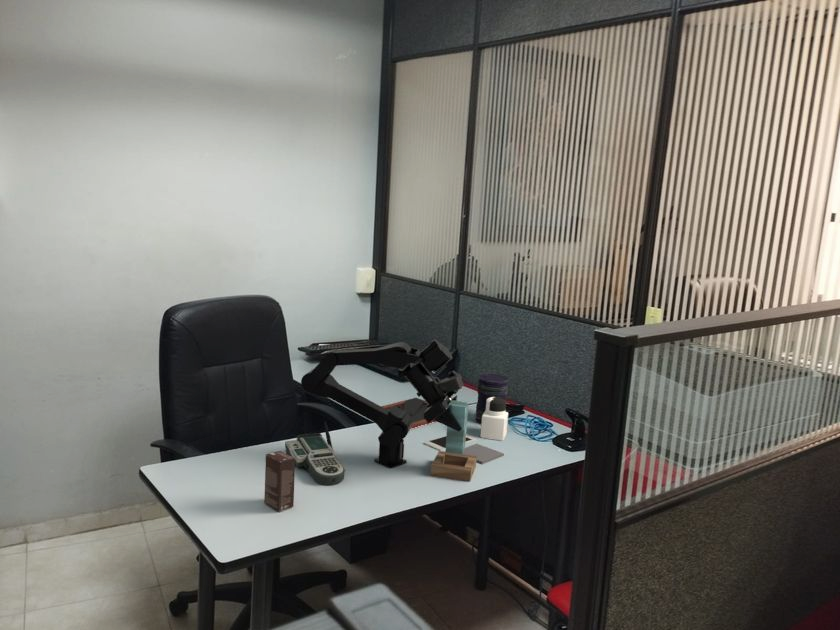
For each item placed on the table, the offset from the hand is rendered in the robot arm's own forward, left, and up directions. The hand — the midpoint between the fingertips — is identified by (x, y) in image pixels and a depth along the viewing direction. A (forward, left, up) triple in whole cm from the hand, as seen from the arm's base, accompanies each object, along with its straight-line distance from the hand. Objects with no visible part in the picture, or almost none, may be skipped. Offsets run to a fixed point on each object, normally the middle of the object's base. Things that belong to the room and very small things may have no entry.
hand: (462, 427), depth 180 cm
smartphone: (+15, +16, -13) cm, 26 cm away
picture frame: (+24, +41, -13) cm, 50 cm away
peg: (-1, +1, -7) cm, 7 cm away
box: (-48, +14, -13) cm, 51 cm away
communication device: (-28, +26, -13) cm, 40 cm away
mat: (+14, +4, -12) cm, 19 cm away
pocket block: (-1, +1, -12) cm, 13 cm away
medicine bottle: (+30, +11, -13) cm, 35 cm away
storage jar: (+40, +20, -13) cm, 47 cm away
